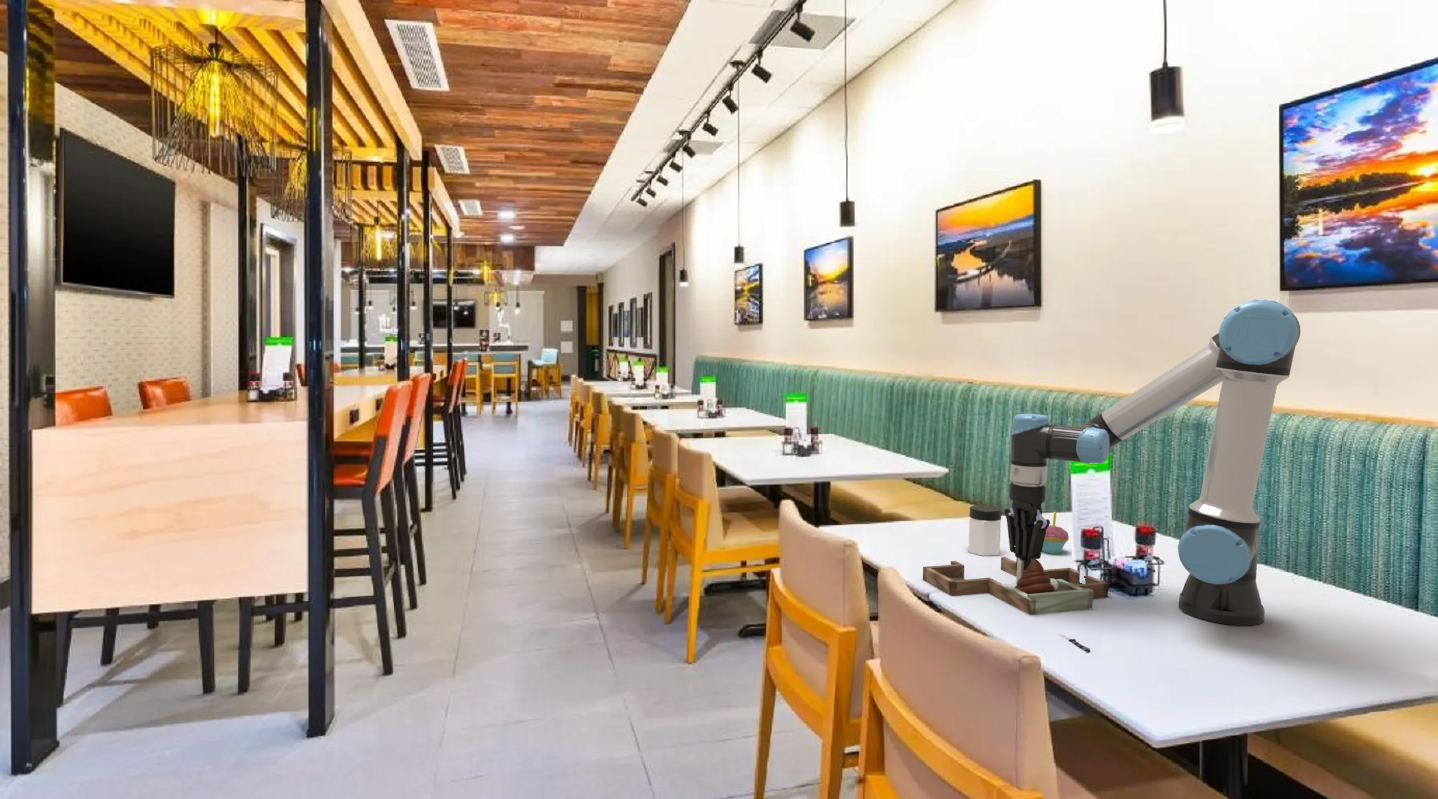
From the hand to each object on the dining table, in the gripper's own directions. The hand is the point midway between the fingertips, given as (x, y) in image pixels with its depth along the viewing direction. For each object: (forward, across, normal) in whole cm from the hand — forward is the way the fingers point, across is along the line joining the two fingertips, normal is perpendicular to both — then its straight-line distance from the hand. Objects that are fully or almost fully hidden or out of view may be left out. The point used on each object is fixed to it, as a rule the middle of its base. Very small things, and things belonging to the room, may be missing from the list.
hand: (1023, 586), depth 176 cm
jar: (+2, -32, +12) cm, 35 cm away
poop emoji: (+2, +5, -1) cm, 6 cm away
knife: (+2, +23, -10) cm, 25 cm away
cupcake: (+2, -28, +30) cm, 41 cm away
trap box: (+1, -2, 0) cm, 3 cm away
